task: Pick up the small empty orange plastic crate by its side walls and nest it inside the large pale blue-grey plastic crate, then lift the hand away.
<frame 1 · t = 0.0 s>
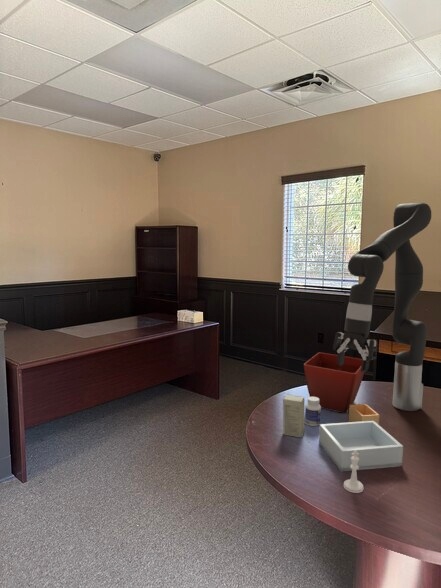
hand: (351, 368, 131), 22 cm above the table, tool pointing down, fingers open, 8 cm apart
pill bottle: (312, 423, 142), on the table
big crate: (358, 453, 122), on the table
chess piece: (353, 487, 106), on the table
plant pot: (333, 404, 158), on the table
small crate: (363, 426, 139), on the table
skincare box: (293, 433, 135), on the table
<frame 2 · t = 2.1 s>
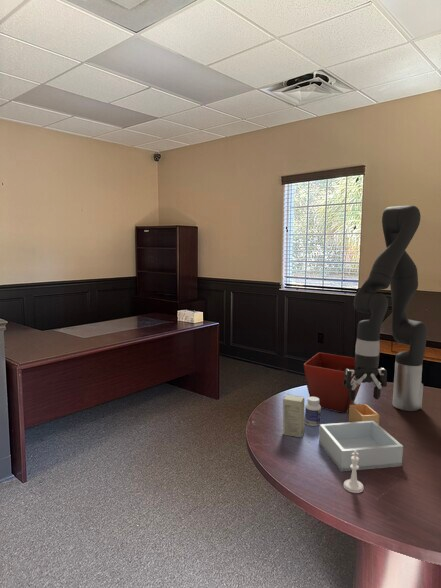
hand: (364, 399, 138), 10 cm above the table, tool pointing down, fingers open, 8 cm apart
nothing on the table moved.
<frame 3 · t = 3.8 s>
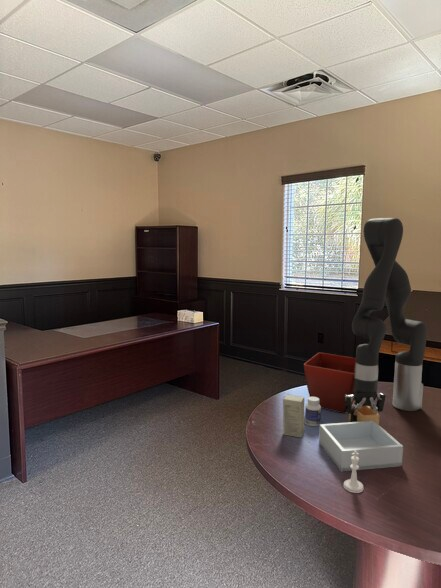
hand: (363, 423, 139), 1 cm above the table, tool pointing down, fingers closed on small crate, 6 cm apart
small crate: (363, 426, 139), on the table, touching gripper
everything else where it was.
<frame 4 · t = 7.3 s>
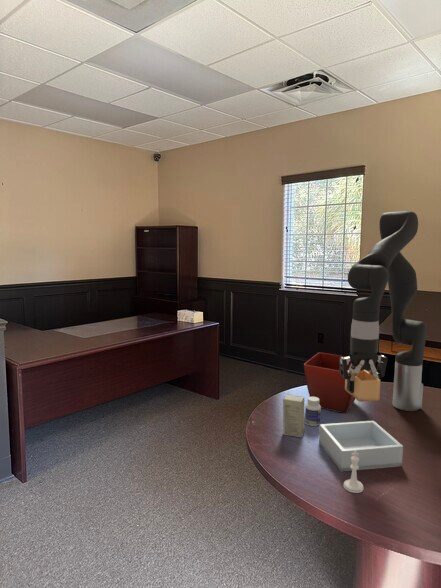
hand: (361, 391, 119), 19 cm above the table, tool pointing down, fingers closed on small crate, 6 cm apart
small crate: (361, 394, 120), point 18 cm above the table, touching gripper
everything else where it was.
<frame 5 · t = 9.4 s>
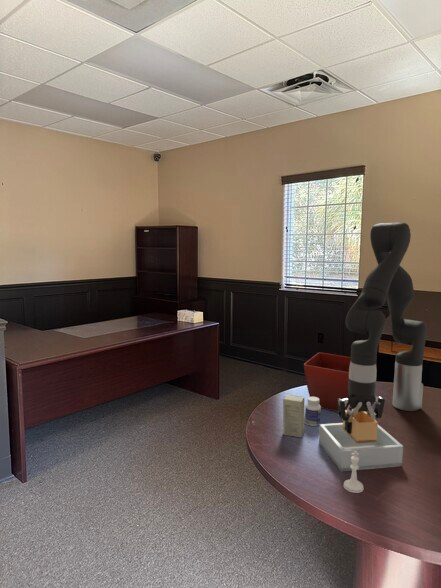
hand: (359, 431, 121), 7 cm above the table, tool pointing down, fingers closed on small crate, 6 cm apart
small crate: (359, 435, 121), point 6 cm above the table, touching gripper
everything else where it was.
when the fingers open (4 cm above the table, at t = 11.1 s): small crate drops 1 cm, resting on big crate.
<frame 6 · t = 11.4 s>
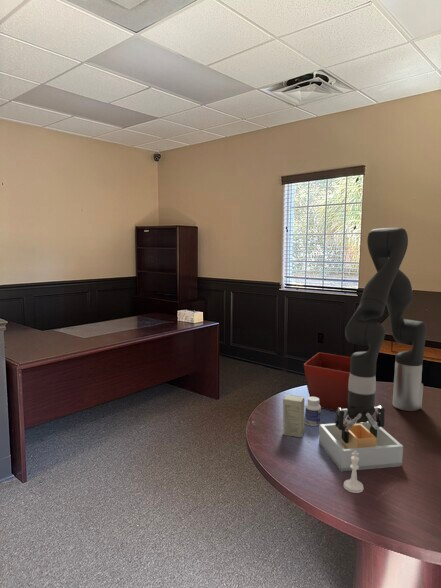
hand: (358, 441, 122), 4 cm above the table, tool pointing down, fingers open, 8 cm apart
small crate: (358, 450, 122), point 1 cm above the table, touching big crate
everything else where it was.
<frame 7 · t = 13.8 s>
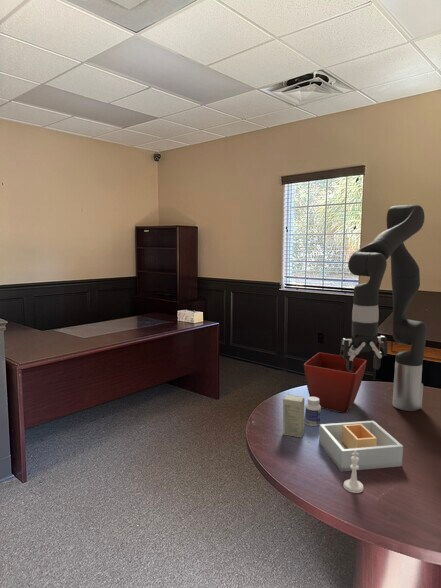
hand: (363, 370, 127), 23 cm above the table, tool pointing down, fingers open, 8 cm apart
nothing on the table moved.
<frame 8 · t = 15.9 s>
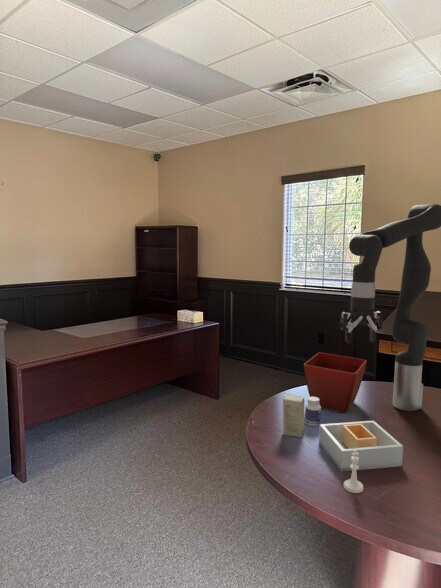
hand: (360, 342, 140), 28 cm above the table, tool pointing down, fingers open, 8 cm apart
nothing on the table moved.
at the end: small crate inside the target area on the big crate (0.0 cm from its centre), point 1.0 cm above the big crate's base; small crate tilted 0°; the gripper is holding nothing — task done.
